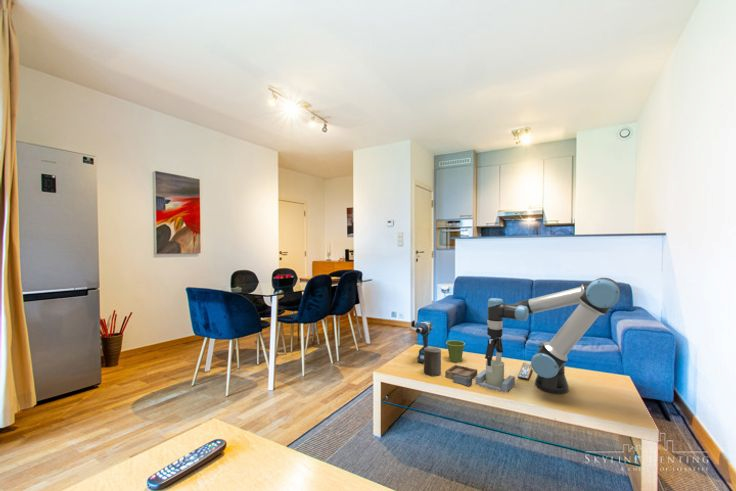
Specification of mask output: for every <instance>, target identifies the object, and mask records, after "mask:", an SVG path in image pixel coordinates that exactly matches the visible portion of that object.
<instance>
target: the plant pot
mask: <svg viewBox="0 0 736 491" xmlns="http://www.w3.org/2000/svg"><path fill="white" fill-rule="evenodd" d="M445 344H446V347H447V351H448V358H449V361H450V362H452V363H461V362H462V359H463V354H464V348H465V345H466V343H465V342H464V341H460V340H456V339H455V340H453V339H452V340H447V341H446V342H445Z"/></svg>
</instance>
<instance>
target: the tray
mask: <svg viewBox="0 0 736 491" xmlns="http://www.w3.org/2000/svg"><path fill="white" fill-rule="evenodd" d="M455 374H456V375H460V376H464V377H469V376H470V377H472V379H473V380H474V379H475V376H477V375H478V369H477V368H471V367H467V366H464V365H459V364H454V365H452V366H451V367H449V368H448V369H446V370H445V378H447V379H450V380H453V376H454V375H455Z"/></svg>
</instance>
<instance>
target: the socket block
mask: <svg viewBox="0 0 736 491" xmlns="http://www.w3.org/2000/svg"><path fill="white" fill-rule="evenodd" d="M515 378H516V377H515V375H514V376H513V375H509V376H507V377H506V378H504V381H503V382H502V387H501V388H500V387H496V386H492V385H489V384H486V369H483V370H482V371H480V373H477V376H475V378H474V379H475V382H474V383H475V385H477V384H478V386H479V387H481V386H482V388H485V387H486V389H490V390H492V389H493V391H496V390H497V392H504V393H508V392H509V391H510V390H509V389H512V388H513V387H514V386H515V381H516V380H515ZM484 381H485V383H484ZM508 390H509V391H508Z"/></svg>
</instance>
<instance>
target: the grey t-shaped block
mask: <svg viewBox="0 0 736 491" xmlns="http://www.w3.org/2000/svg"><path fill="white" fill-rule="evenodd" d="M452 382H454V383H457V384H461V385H464V386H467V387H470V386H471V385H472V384H473V380H472V377H470V376H469V377H464V376H460V375H456V374H455V375H454V376H453V379H452Z"/></svg>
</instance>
